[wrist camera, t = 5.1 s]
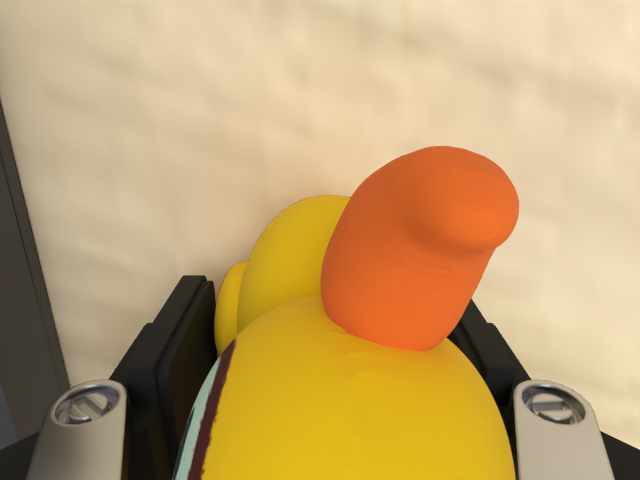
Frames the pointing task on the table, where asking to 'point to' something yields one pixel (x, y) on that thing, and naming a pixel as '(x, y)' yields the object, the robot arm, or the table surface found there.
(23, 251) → the pan
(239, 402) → the duckling
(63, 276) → the table surface
